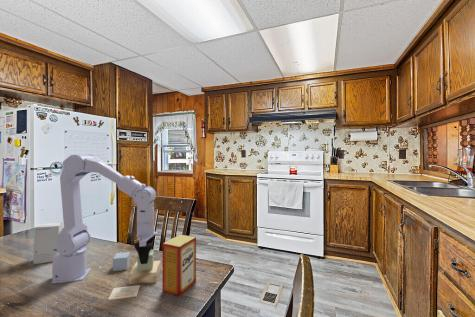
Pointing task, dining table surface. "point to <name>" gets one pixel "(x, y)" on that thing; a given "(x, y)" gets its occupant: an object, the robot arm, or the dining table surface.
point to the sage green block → (149, 263)
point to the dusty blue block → (121, 261)
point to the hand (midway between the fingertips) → (145, 258)
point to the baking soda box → (179, 264)
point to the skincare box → (46, 242)
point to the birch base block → (145, 274)
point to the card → (124, 292)
